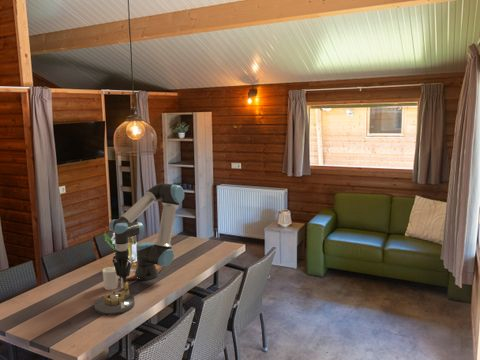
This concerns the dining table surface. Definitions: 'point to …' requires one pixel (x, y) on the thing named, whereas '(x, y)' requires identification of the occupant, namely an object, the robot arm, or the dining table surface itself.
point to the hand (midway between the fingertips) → (123, 287)
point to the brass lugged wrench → (115, 300)
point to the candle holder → (110, 278)
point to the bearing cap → (114, 309)
